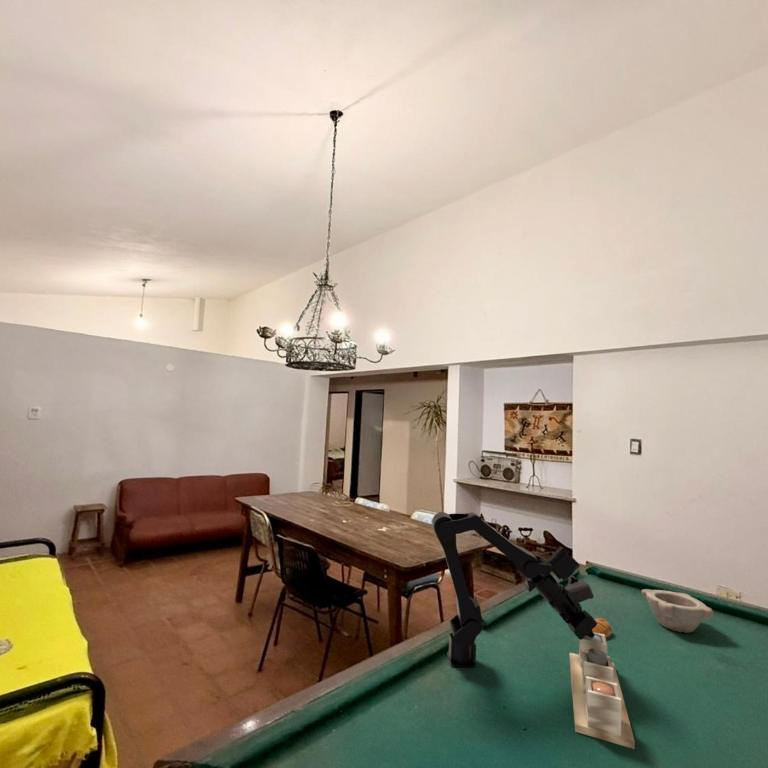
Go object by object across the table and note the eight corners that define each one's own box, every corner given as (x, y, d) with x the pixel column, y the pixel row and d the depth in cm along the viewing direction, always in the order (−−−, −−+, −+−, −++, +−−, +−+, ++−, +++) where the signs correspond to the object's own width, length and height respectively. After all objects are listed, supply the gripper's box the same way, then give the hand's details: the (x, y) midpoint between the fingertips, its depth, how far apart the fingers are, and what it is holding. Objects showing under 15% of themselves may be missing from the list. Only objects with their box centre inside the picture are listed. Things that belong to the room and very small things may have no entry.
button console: (575, 731, 90) (575, 689, 91) (569, 658, 119) (570, 626, 119) (634, 749, 86) (634, 704, 87) (613, 668, 115) (614, 635, 115)
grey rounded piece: (588, 674, 102) (588, 655, 102) (587, 665, 105) (587, 647, 106) (607, 679, 100) (607, 659, 100) (605, 670, 104) (605, 651, 104)
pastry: (603, 643, 128) (603, 630, 128) (580, 635, 133) (580, 622, 133) (614, 634, 135) (614, 621, 135) (591, 626, 139) (591, 614, 140)
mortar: (688, 618, 149) (688, 591, 150) (719, 642, 132) (718, 611, 133) (637, 612, 151) (637, 585, 152) (660, 635, 135) (660, 605, 136)
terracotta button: (593, 712, 90) (593, 690, 91) (591, 701, 94) (591, 680, 94) (614, 718, 89) (614, 696, 89) (611, 707, 93) (612, 685, 93)
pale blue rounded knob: (584, 656, 113) (585, 638, 113) (583, 649, 116) (584, 632, 117) (601, 660, 111) (601, 642, 111) (600, 652, 115) (600, 635, 115)
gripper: (589, 584, 106) (633, 633, 105) (560, 559, 125) (598, 600, 124) (557, 614, 106) (601, 664, 105) (533, 585, 124) (570, 627, 123)
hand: (592, 636), depth 114 cm, fingers closed, pressing on pale blue rounded knob
